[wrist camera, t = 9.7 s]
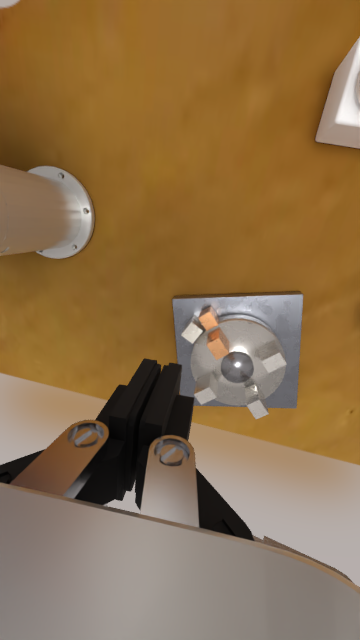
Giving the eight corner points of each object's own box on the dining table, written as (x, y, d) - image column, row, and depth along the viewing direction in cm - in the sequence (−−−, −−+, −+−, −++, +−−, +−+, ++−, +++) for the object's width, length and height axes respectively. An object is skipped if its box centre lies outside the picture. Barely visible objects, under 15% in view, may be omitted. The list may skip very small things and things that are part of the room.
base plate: (183, 398, 49) (177, 419, 43) (174, 295, 43) (167, 305, 38) (293, 400, 46) (302, 423, 40) (299, 291, 40) (310, 301, 35)
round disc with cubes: (298, 371, 41) (311, 398, 35) (221, 406, 45) (220, 437, 39) (245, 285, 39) (249, 297, 32) (168, 330, 43) (158, 349, 36)
